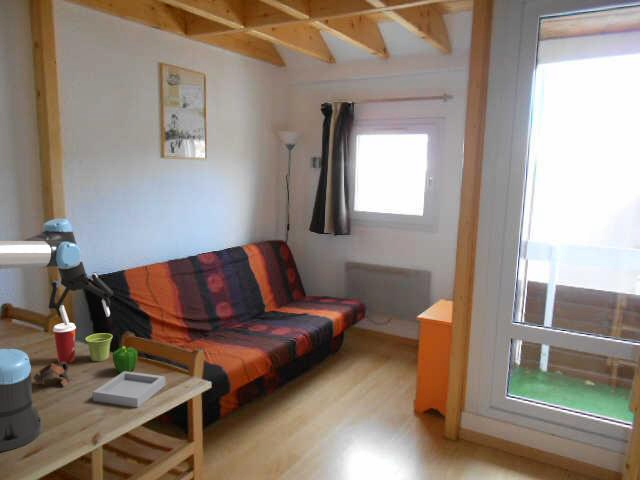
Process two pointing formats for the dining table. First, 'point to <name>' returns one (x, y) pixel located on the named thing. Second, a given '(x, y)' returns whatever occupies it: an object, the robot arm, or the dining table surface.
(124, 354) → the bell pepper
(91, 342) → the plant pot
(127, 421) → the dining table surface
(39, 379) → the pottery mug
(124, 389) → the gray square tray
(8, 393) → the robot arm
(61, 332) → the paper cup
